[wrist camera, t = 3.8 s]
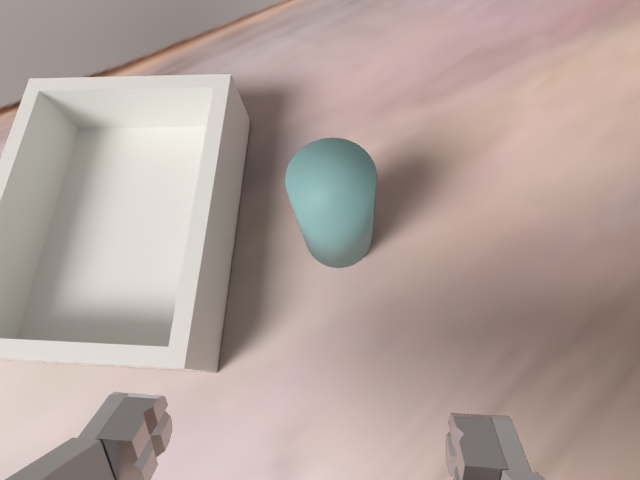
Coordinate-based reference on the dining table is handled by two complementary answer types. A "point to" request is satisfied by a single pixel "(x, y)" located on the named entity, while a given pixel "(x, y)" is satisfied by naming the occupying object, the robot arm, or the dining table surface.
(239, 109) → the tote
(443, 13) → the dining table surface
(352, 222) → the teal cylinder
